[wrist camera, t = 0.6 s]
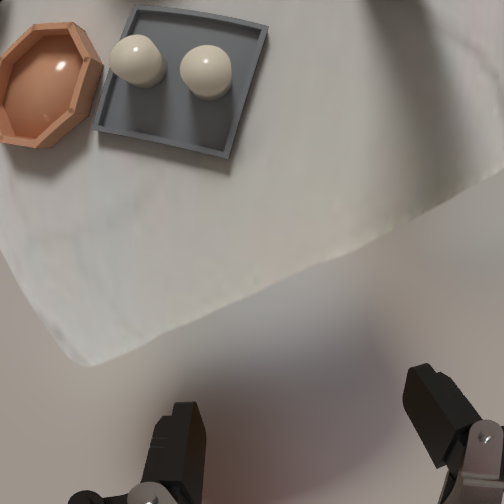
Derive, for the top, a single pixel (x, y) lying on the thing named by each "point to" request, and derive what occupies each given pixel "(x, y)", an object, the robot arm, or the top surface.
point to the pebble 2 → (207, 72)
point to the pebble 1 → (138, 62)
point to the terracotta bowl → (46, 84)
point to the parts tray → (182, 82)
